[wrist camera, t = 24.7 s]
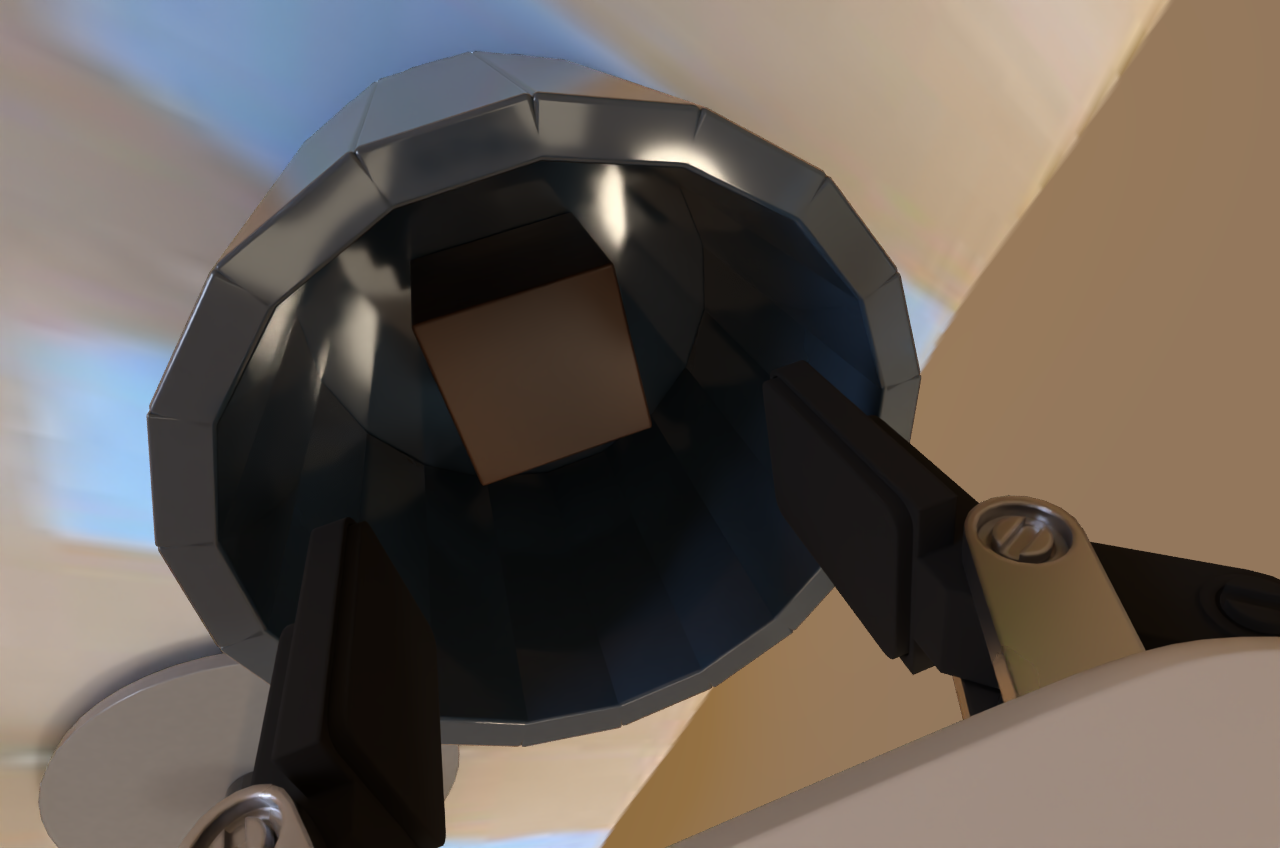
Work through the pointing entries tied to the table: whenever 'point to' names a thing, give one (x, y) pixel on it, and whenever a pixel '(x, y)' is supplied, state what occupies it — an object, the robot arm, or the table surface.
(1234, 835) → the robot arm
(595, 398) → the block
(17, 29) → the table surface
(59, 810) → the lid
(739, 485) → the dark grey pot
